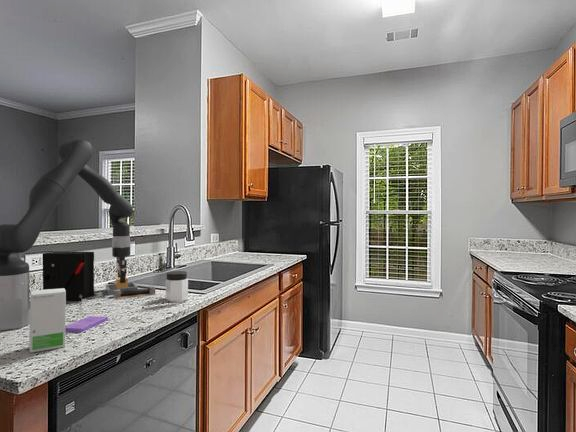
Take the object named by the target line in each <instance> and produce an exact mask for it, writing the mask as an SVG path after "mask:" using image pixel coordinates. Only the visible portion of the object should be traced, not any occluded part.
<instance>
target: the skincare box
mask: <svg viewBox="0 0 576 432" xmlns="http://www.w3.org/2000/svg"><path fill="white" fill-rule="evenodd" d="M29 294H30V323H29V332H28V333H29V334H28V335H29V339H28V341H29V342H28V343H29V353H32V354H33V353H37V352H42V351H48V350H54V349H60V348H61V347H62V348H65V347H66V331H65V326H66V309H67V308H66V303H67V301H66V291H65V288H61V289H46V290H43V289H38V290H36V289H35V290H30V291H29ZM62 348H61V349H62Z"/></svg>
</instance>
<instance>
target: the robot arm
mask: <svg viewBox="0 0 576 432" xmlns="http://www.w3.org/2000/svg"><path fill="white" fill-rule="evenodd" d="M57 154H58V156H59V158H60V159H61V161H60V162H59V163H57V164H56V165H55V166H54V167H52V168H50V169H49V170H47V172H45V173H43V175H42V176H40V178H38V180H37V181H36V182H35V184H34V185H33V187H32V188H31V189H30V191H29V193H28V194H29V195H28V210H27V211H26V213H25V214H24V216H23V217H22V219H21V220H20V221H18V223H16V224H13V223H12V224H11V223H10V224H9V223H8V224H0V331H8V330H14V329H15V330H16V329H21V328H24V327H25V326H27V325H30V265H29V263H28V262H27V261H25V260H23V259H22V258H21V257H20V256H19V254H21V253H25V252H27V251H29V250H30V249H31V248H32V247H33V245H34V244H35V243H36V241H37V240H38V237H39V236H40V233H41V232H42V230H43V228H44V226H45V224H46V222H47V221H48V219H49V217H50V216H51V214H52V212H53V211H54V210H55V208H56V207H57V205H58V204H59V202H60V201H61V200H62V198H63V197H64V196H65V194H66V193H67V191H68V189H69V188H70V186H71V185H72V184H73V183H74V181H75V179H76V178H77V176H79V177H80V178H81V179H82V180H83V181H85V182H86V183H87V185H89V186H90V188H91V189H92V190H93V191H94V192H95V193H96V194H97V196H98V197H99V198H100V199H101V200H102V202H103V203H105V204H107V205H110V206H109V208H108V214H109V218H110V223H111V226H112V241H111V247H112V248H111V249H112V253H111V254H112V255H111V256H112V257H113V258H116V263H115V264H116V270H117V278H118V277H120V283H125V282H126V277H127V276H126V275H127V269H128V268H127V262H128V261H127V259H126V257H130V256H131V236H130V232H131V231H130V229H131V228H130V224H129V223H128V222H125V220H124V218H125V219H126V218H130V217H131V216H132V215H133V213H134V209H133V204H131V202H130V201H129V200H127V199H126V198H125V197H124V196H123V195H122V194H120V193H119V191H117V189H116V187H114V185H113V184H112V183H111V182H110V181H109V180H108V179H107V178H106V177H104V176H103V175H101V174H99V173H98V172H97V171H95V170H94V169H93V168H92V167H90V166H88V163H89V162H90V161H91V160H92V157H93V154H94V149H93V146H92V144H91V142H89V141H88V140H85V139H81V138H79V139H73V140H69V141H65V142H62V143H61V144H59V146H57Z"/></svg>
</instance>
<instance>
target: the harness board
mask: <svg viewBox="0 0 576 432" xmlns="http://www.w3.org/2000/svg"><path fill="white" fill-rule="evenodd" d="M112 295H113V298H114V299H115V300H123V299H132V298H139V297H148V296H156V295H157V293H156V286H155V285H150V286H147V287H141V288H140V287H138V289H130V290H121V291H120V289H119V290H114V294H112Z"/></svg>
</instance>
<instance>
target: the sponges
mask: <svg viewBox="0 0 576 432" xmlns="http://www.w3.org/2000/svg"><path fill="white" fill-rule="evenodd" d="M108 319H109V316H93V315H90V316H87V317H84V318H81V319H79V320H77V321H75V322H72V323H69V324H65V333H66V332H68V333H70V332H71V333H83V331H84V332H86V331H88V330H89V329H92V328H94V327H96V326H99V325H101V324H103V323H105V322H107V321H108ZM85 330H86V331H85Z"/></svg>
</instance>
